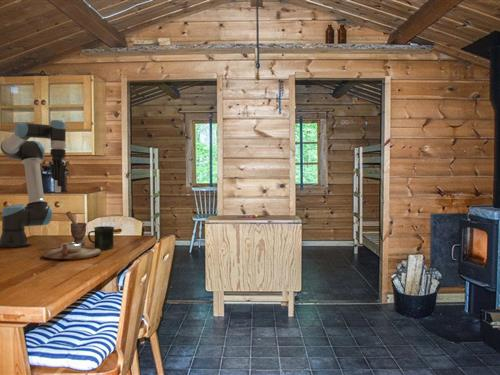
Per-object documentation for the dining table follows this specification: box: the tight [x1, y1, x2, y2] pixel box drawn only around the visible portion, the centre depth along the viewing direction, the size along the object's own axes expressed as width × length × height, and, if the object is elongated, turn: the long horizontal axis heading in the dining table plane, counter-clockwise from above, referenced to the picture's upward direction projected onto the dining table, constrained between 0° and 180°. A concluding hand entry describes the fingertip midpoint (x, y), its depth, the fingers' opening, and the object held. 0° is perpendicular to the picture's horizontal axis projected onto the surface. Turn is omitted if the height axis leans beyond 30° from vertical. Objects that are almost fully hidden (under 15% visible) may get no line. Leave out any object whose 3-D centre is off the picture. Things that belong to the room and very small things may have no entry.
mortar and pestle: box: [65, 211, 87, 247], centre depth 264 cm, size 12×9×20 cm
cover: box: [60, 241, 82, 253], centre depth 233 cm, size 10×10×5 cm
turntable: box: [42, 243, 102, 260], centre depth 233 cm, size 28×28×7 cm
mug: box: [87, 225, 115, 250], centre depth 256 cm, size 11×15×12 cm
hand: (57, 192), depth 244 cm, fingers closed
